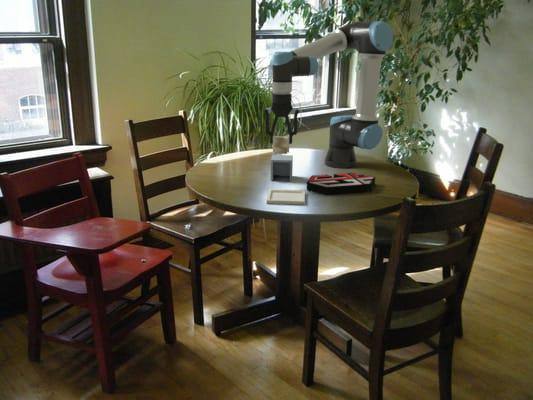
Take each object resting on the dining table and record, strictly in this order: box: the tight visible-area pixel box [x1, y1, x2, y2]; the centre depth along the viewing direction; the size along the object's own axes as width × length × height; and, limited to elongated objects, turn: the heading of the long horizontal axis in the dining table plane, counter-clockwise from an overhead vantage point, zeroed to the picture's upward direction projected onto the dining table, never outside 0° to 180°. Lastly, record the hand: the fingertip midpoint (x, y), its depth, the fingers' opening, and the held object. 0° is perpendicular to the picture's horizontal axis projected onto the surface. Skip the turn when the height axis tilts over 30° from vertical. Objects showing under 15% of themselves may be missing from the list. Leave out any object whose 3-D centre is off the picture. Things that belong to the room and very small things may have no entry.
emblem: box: [306, 172, 376, 197], centre depth 218 cm, size 18×4×30 cm
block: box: [273, 135, 288, 155], centre depth 213 cm, size 5×5×6 cm
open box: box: [270, 154, 294, 182], centre depth 229 cm, size 9×9×9 cm
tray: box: [266, 188, 306, 206], centre depth 203 cm, size 14×14×1 cm
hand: (281, 151), depth 214 cm, fingers closed on block, 5 cm apart
